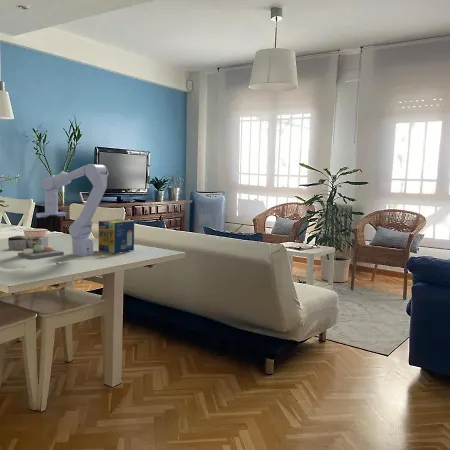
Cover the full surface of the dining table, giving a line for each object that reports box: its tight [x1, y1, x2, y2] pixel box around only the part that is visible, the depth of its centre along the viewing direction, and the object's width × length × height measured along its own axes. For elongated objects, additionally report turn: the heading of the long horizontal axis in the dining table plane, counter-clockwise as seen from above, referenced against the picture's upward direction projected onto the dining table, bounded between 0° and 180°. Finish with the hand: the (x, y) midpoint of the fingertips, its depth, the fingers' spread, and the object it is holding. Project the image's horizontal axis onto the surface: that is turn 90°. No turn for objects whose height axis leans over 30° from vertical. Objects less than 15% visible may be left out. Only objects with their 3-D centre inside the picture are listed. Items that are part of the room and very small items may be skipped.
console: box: [17, 249, 65, 260], centre depth 205 cm, size 12×15×2 cm
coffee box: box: [7, 235, 49, 251], centre depth 225 cm, size 9×6×16 cm
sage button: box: [33, 245, 44, 253], centre depth 206 cm, size 4×4×3 cm
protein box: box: [98, 218, 135, 255], centre depth 228 cm, size 10×15×16 cm
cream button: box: [22, 249, 34, 254], centre depth 202 cm, size 4×4×3 cm
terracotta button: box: [43, 245, 54, 252], centre depth 210 cm, size 4×4×3 cm
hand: (51, 231), depth 216 cm, fingers closed
